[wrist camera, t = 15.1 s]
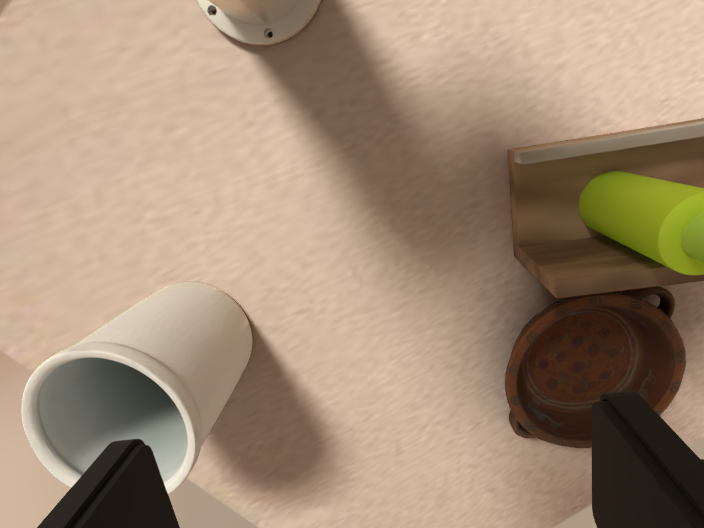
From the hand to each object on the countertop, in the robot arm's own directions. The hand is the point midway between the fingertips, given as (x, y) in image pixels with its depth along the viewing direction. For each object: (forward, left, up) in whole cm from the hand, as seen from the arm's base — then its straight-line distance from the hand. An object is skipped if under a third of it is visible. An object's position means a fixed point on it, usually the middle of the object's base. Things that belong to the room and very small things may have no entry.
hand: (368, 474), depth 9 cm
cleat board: (+3, +22, -38) cm, 44 cm away
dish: (+21, +19, -39) cm, 48 cm away
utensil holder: (+13, -24, -38) cm, 47 cm away
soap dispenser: (+3, +21, -36) cm, 42 cm away
